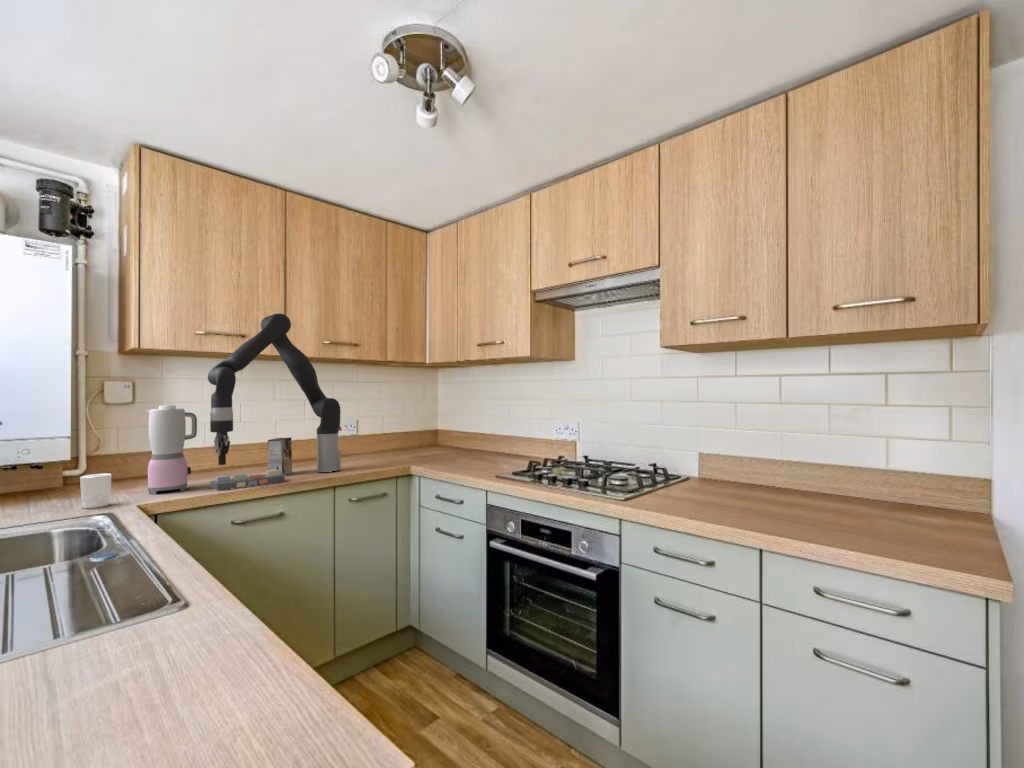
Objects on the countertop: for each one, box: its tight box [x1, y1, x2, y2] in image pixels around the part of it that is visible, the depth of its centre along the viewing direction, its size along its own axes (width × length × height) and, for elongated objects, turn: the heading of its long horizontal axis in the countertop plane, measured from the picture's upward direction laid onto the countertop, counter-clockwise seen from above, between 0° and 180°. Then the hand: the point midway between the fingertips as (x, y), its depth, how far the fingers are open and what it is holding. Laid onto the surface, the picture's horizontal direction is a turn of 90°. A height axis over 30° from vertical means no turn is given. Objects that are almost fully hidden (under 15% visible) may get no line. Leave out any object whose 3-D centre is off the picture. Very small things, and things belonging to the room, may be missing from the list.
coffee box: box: [267, 437, 293, 476], centre depth 216 cm, size 9×6×16 cm
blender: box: [146, 404, 198, 495], centre depth 185 cm, size 16×12×32 cm
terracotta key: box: [249, 473, 264, 479], centre depth 196 cm, size 4×4×3 cm
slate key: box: [214, 474, 231, 483], centre depth 187 cm, size 4×4×3 cm
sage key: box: [232, 472, 248, 481], centre depth 191 cm, size 4×4×3 cm
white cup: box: [79, 472, 113, 509], centre depth 160 cm, size 8×8×10 cm
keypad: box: [209, 473, 286, 492], centre depth 193 cm, size 24×10×2 cm, turn 134°
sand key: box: [265, 469, 279, 477], centre depth 200 cm, size 4×4×3 cm
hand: (222, 464), depth 187 cm, fingers closed
